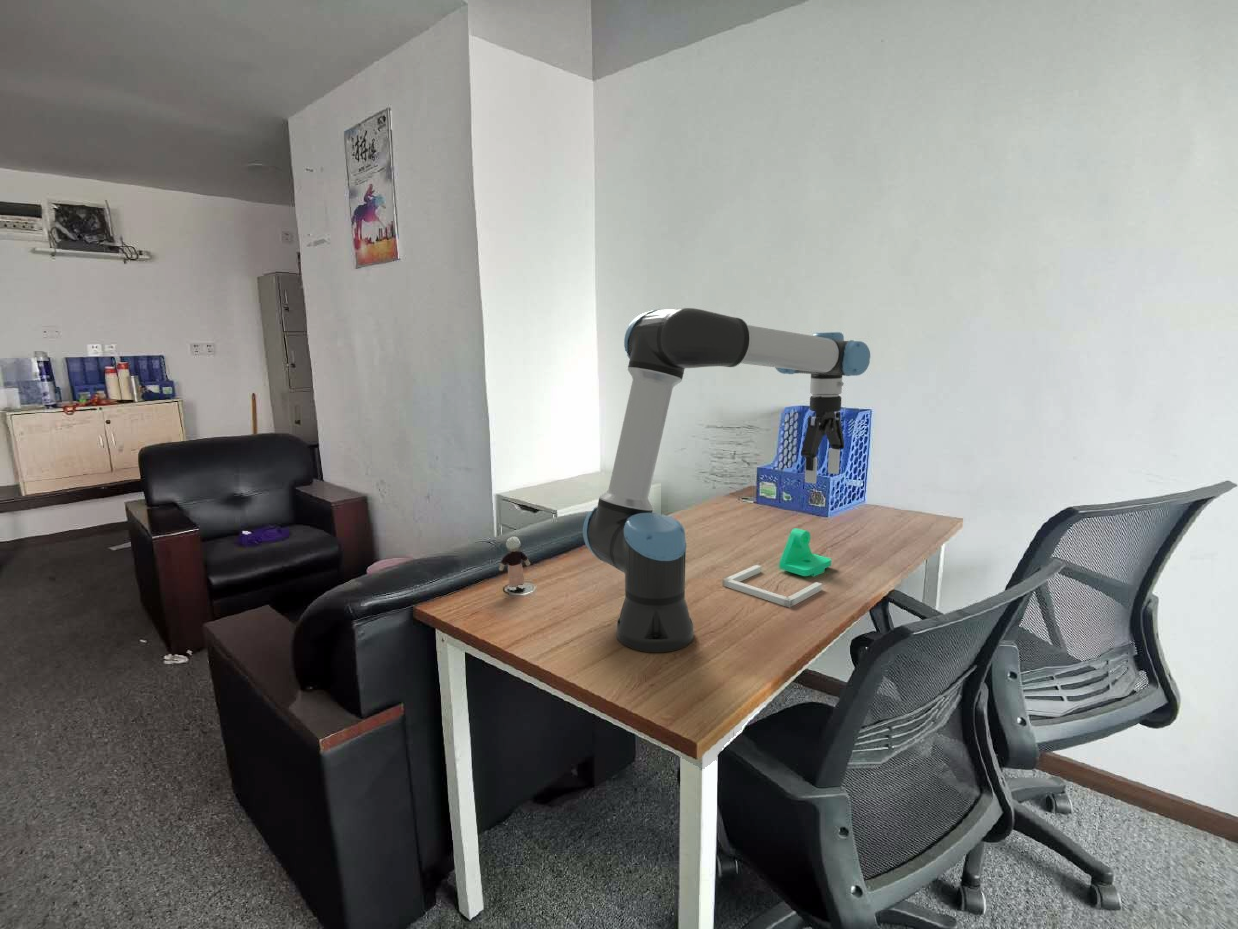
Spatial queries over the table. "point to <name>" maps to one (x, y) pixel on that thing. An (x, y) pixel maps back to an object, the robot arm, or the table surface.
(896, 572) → the table surface
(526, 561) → the grandmother figurine
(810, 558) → the camera mount
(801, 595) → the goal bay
